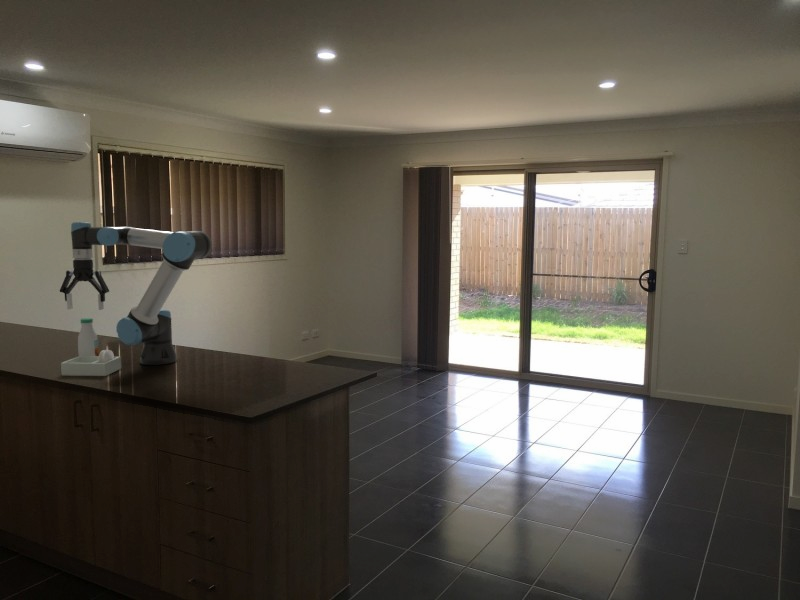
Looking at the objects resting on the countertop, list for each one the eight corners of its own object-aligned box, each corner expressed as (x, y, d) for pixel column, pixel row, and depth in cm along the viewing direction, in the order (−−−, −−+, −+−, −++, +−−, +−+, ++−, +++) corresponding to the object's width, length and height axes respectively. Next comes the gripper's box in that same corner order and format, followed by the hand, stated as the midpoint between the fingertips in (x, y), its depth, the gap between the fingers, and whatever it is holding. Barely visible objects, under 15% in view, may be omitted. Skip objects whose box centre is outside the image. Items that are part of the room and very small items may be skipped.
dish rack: (79, 367, 272) (78, 346, 271) (121, 368, 271) (120, 347, 270) (61, 375, 260) (60, 353, 258) (105, 375, 259) (104, 353, 257)
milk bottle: (91, 367, 274) (88, 320, 271) (75, 366, 275) (72, 319, 273) (103, 363, 281) (100, 317, 279) (87, 362, 283) (84, 316, 280)
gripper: (48, 259, 270) (51, 309, 272) (107, 259, 268) (109, 310, 271) (59, 258, 277) (62, 307, 280) (116, 258, 276) (118, 308, 278)
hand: (85, 309), depth 275 cm, fingers open, 13 cm apart
